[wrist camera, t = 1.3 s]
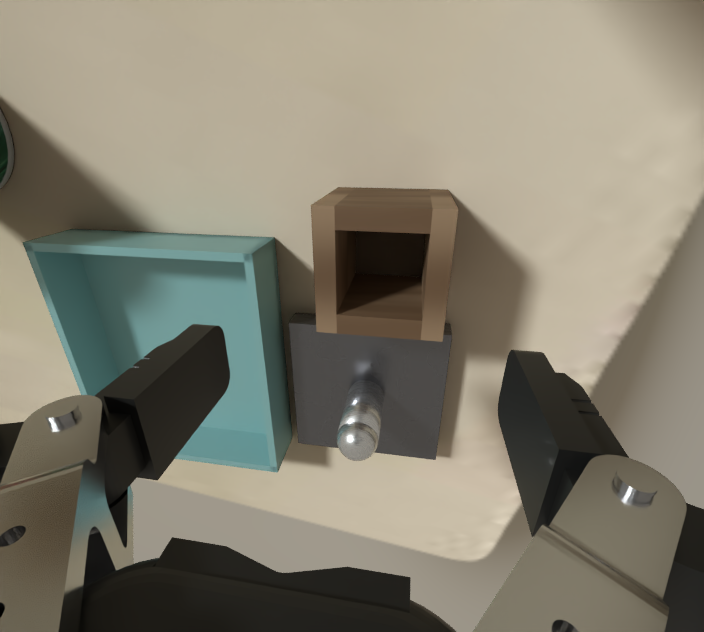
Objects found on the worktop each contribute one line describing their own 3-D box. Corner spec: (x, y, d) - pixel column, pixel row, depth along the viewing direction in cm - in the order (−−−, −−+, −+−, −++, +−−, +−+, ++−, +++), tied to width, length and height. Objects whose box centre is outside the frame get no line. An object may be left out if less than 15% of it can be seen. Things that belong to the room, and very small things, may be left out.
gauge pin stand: (295, 312, 25) (256, 368, 19) (450, 323, 24) (460, 388, 18) (303, 428, 29) (274, 504, 23) (434, 444, 28) (438, 528, 22)
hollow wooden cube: (338, 187, 21) (311, 205, 16) (448, 189, 20) (458, 209, 15) (339, 287, 24) (316, 331, 18) (437, 293, 23) (442, 341, 17)
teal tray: (72, 229, 25) (22, 242, 22) (274, 237, 23) (251, 253, 20) (133, 417, 32) (102, 448, 29) (292, 437, 30) (277, 472, 27)
